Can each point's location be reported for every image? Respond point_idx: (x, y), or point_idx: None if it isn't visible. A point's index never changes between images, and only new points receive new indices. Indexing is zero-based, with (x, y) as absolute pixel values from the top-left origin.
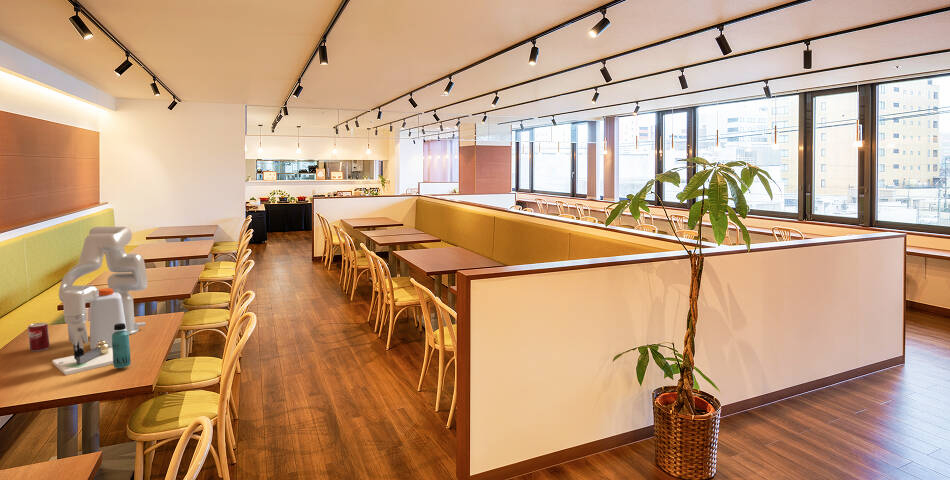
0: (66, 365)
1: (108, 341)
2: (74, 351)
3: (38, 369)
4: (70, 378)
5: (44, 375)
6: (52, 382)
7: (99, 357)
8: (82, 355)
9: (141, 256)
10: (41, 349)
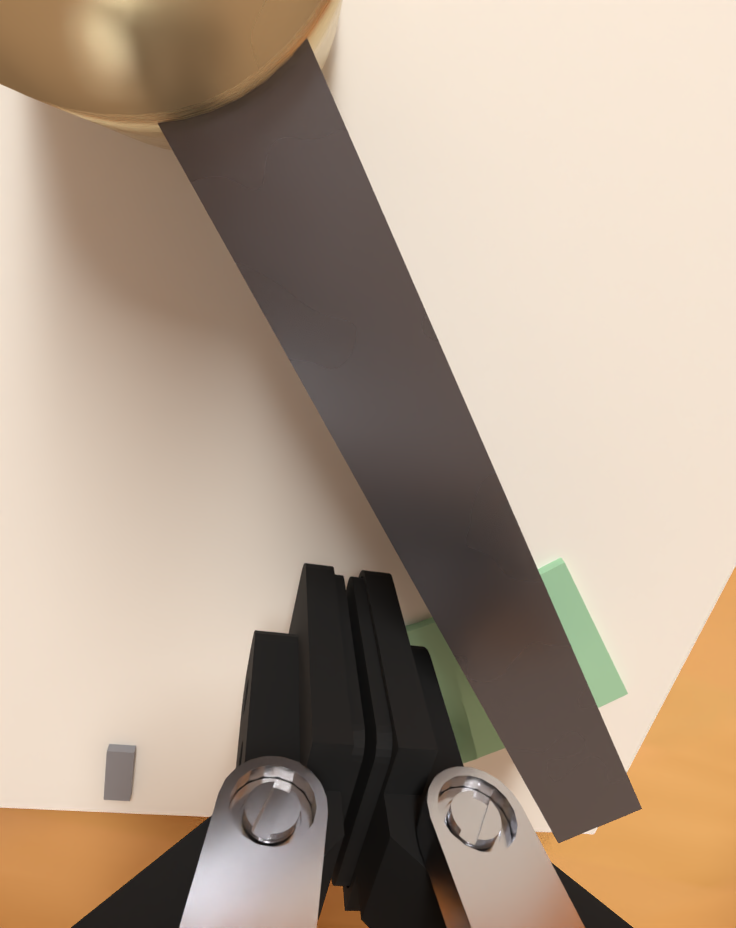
0: None
1: None
2: (356, 899)
3: (22, 891)
4: (725, 786)
5: (343, 898)
6: (645, 900)
7: (419, 224)
8: (603, 750)
9: None
10: None
